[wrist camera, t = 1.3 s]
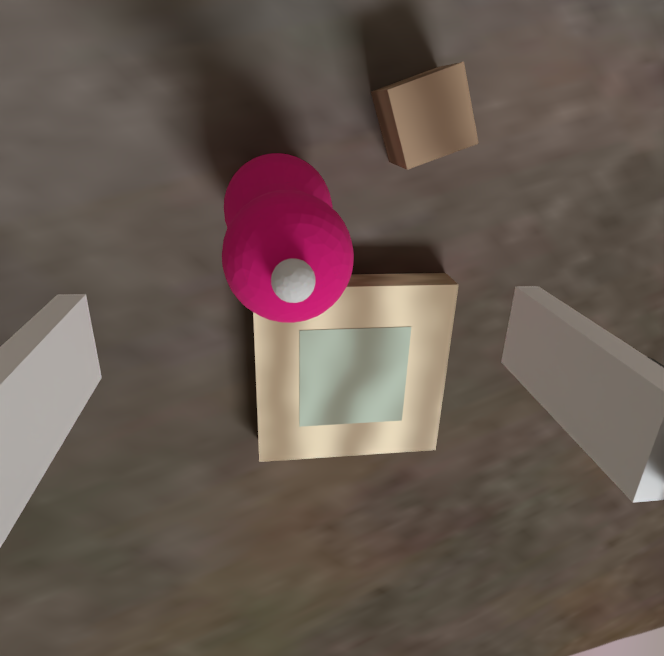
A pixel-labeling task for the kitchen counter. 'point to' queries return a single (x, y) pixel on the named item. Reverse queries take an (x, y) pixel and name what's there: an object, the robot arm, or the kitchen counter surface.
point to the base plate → (357, 370)
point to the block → (426, 116)
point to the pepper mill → (284, 240)
